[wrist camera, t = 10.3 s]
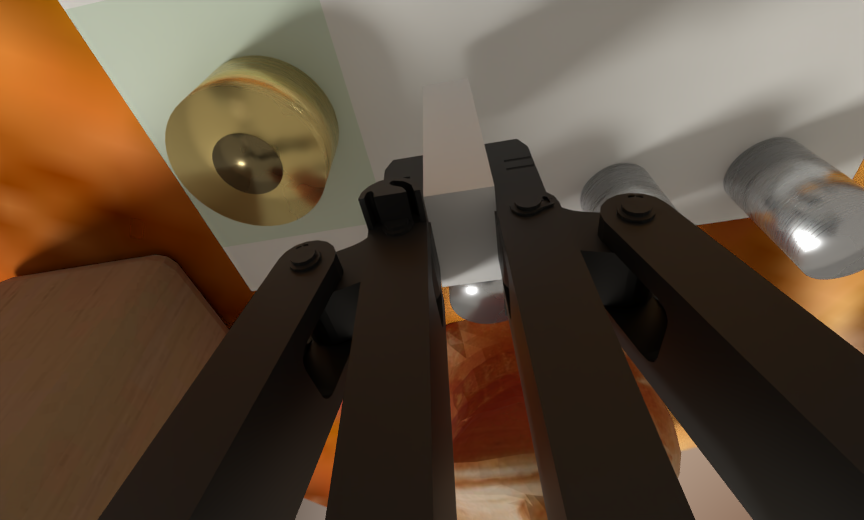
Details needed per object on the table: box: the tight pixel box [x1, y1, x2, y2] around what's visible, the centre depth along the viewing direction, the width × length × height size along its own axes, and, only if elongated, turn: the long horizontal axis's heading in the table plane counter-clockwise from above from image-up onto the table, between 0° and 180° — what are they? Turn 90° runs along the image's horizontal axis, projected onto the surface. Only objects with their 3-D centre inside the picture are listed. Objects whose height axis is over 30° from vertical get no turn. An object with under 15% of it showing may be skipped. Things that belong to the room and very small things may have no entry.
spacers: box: [449, 137, 864, 324], centre depth 13 cm, size 14×17×5 cm
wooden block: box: [0, 255, 229, 520], centre depth 17 cm, size 10×10×20 cm
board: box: [58, 0, 864, 291], centre depth 16 cm, size 16×28×1 cm, turn 100°
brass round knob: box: [165, 55, 339, 226], centre depth 15 cm, size 5×5×3 cm
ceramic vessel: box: [446, 320, 681, 520], centre depth 25 cm, size 14×26×15 cm, turn 13°
